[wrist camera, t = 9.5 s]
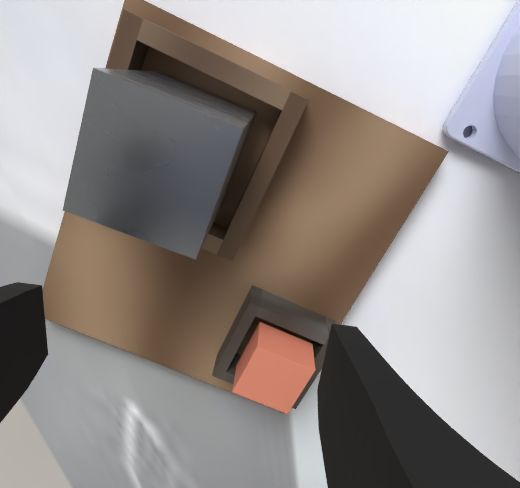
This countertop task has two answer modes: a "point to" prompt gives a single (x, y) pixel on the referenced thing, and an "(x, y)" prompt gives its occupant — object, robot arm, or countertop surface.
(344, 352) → the robot arm
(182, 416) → the countertop surface
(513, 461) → the countertop surface
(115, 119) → the block
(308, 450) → the countertop surface
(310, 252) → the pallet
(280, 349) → the button
